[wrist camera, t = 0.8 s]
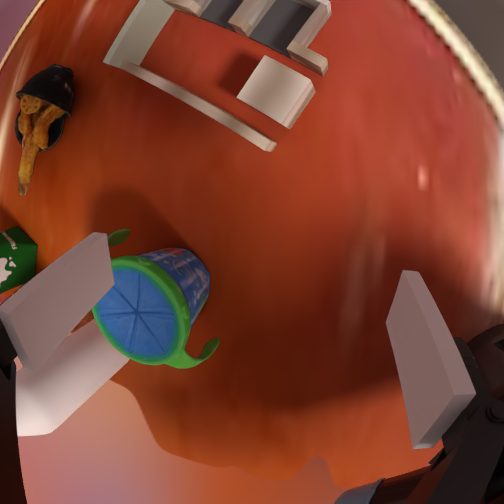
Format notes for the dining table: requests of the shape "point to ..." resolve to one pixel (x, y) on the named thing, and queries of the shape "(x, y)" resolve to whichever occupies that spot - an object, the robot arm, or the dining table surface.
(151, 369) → the dining table surface
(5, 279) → the milk carton
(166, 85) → the box
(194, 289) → the snack cup
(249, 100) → the cream block
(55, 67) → the fried shrimp in bowl
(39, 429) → the bottle
